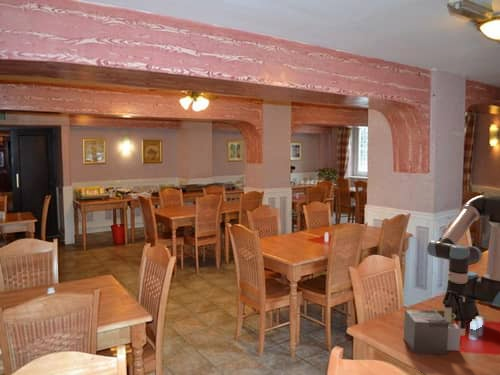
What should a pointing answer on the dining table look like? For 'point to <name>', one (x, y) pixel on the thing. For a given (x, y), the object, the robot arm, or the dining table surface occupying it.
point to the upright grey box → (453, 338)
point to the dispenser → (426, 332)
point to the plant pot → (444, 313)
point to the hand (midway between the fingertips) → (453, 328)
